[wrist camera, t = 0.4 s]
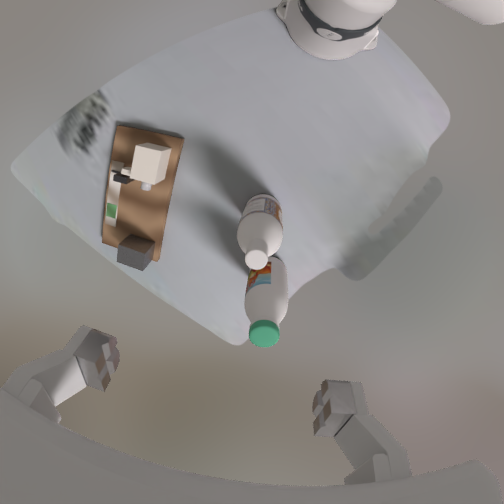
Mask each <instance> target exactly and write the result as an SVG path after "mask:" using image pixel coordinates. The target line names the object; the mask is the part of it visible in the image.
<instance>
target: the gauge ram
mask: <svg viewBox="0 0 504 504" xmlns="http://www.w3.org/2000/svg"><path fill="white" fill-rule="evenodd" d="M171 149H172V148H168V147H164V146H160V145H156V144H152V143H144V144H139V145H136V147H135V152H134V157H133V162H132V168H130V167H125V168H122V171H121V174H124V175H128V176H130V178H131V179H135V180H138V181H142V182H141V189H142V190H146V191H149V190H151V186H152V184H153V185H155V184H157V183H159V182H160V181H162V180H164V179H165V175H166V170H167V166H168V162H169V157H170V153H171Z"/></svg>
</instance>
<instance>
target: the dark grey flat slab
mask: <svg viewBox="0 0 504 504" xmlns="http://www.w3.org/2000/svg"><path fill="white" fill-rule="evenodd" d="M112 172H113V173H117V174H114V176H113V181H115V182H119V183H123V184H128V183H130V182H132V181H134V180H135V179H131V178H130V176H128V175H124V174H121V172H116V171H112Z"/></svg>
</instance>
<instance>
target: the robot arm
mask: <svg viewBox="0 0 504 504" xmlns="http://www.w3.org/2000/svg"><path fill="white" fill-rule="evenodd" d="M435 1H437V2H438V3H441V4H443V5H445V6H447V7H449V8H451V9H453V10H455V11H457V12H459V13H461V14H463V15H465V16H467V17H469V18H471V19H473V20H475V21H476V22H478V23H481V24H485V25H493V24H500V23H504V0H435ZM396 2H397V0H282V2H281V3H280V4H279V6H278V7H277V9H276V14H277V16H278V17H279V18H280V19H281V20H282V21H283V22H284V23H285V24H286V26H287V29H288V31H289V34H290V36H291V37H292V39H293V40H294V42H295V43H296V44H297V45H298V46H299V47H300V48H301V49H303V50H304V51H306V52H307V53H309V54H311V55H313V56H315V57H318V58H322V59H327V60H340V59H345V58H348V57H350V56H352V55H354V54H356V53H357V52H359V51H364V50H372V49H374V48H375V47H376V46H377V35H378V33H379V31H378V24H379V22H380V20H381V19H382V16H383V15H384V14H385V13H386V12H388V11H389V10H390V9H391V8H392V7H393V6H394V5H395V4H396ZM284 6H286V8H284ZM116 345H117V339H116V337H114V336H112V335H109V334H106V333H103V332H101V331H98V330H96V329H93V328H90V327H87V326H85V325H83V326H81V327H80V328H79V329H78V330H77V332H76V333H75V334H74V336H73V337H72V338H71V340H70V341H69V342H68V344H67V345H66V346H65V348H64V349H63V350H60V349H59V350H57V351H55V352H53V353H50V354H48V355H45V356H43V357H41V358H38V359H36V360H33V361H31V362H29V363H26V364H24V365H22V366H19V367H17V368H16V369H15V370H14V372H13V373H12V374H11V376H10V377H9V379H8V380H7V382H6V383H5V384H4V386H3V387H2V388H1V387H0V504H503V501H502V496H501V491H500V486H499V482H498V479H497V477H496V475H495V474H494V473H493V472H492V471H491V470H490V469H489V468H488V467H487V466H485V465H484V464H483V463H481V462H480V461H479V460H470V461H467V462H464V463H461V464H458V465H454V466H452V467H448V468H444V469H440V470H436V471H432V472H428V473H424V474H420V475H415V476H412V473H411V468H410V463H409V459H408V454H407V450H406V449H405V448H404V447H403V446H402V445H401V444H400V443H399V442H398V441H397V440H396V439H395V438H394V437H393V436H392V435H391V434H390V433H389V432H388V430H386V428H385V427H384V426H383V425H382V424H381V423H380V422H379V421H378V420H377V419H376V418H375V417H374V416H373V415H369V411H368V406H367V402H366V398H365V393H364V389H363V385H362V383H361V382H351V381H349V382H348V381H337V380H325V381H323V382H322V384H321V390H319V391H317V393H316V395H315V397H314V400H313V406H312V409H313V414H314V415H315V417H316V419H315V420H314V422H313V428H314V436H322V437H334V439H335V440H336V442H337V444H338V445H339V446H340V448H341V450H342V451H343V453H344V454H345V456H346V457H347V458H348V460H349V461H350V463H351V464H352V466H353V467H354V468H355V470H354V471H353V472H352V473H351V474H349V475H348V476H347V477H345V478H344V482H345V485H334V486H290V485H289V486H288V485H271V484H260V483H251V482H242V481H235V480H228V479H222V478H216V477H211V476H206V475H200V474H196V473H191V472H187V471H183V470H179V469H175V468H171V467H167V466H164V465H160V464H157V463H153V462H150V461H147V460H144V459H141V458H138V457H135V456H132V455H129V454H126V453H124V452H121V451H118V450H115V449H113V448H110V447H108V446H105V445H103V444H101V443H98V442H96V441H94V440H91V439H89V438H87V437H85V436H83V435H80V434H78V433H76V432H74V431H72V430H70V429H68V428H66V427H64V426H62V425H60V424H59V422H60V420H61V416H60V414H59V412H58V411H57V409H56V407H55V406H57V405H58V404H60V403H61V402H63V401H64V400H66V399H68V398H69V397H71V396H72V395H74V394H75V393H77V392H79V391H80V390H81V389H83V388H85V387H86V386H87V385H88V386H90V387H93V388H95V389H98V390H101V391H104V392H105V390H106V388H107V386H108V384H109V382H110V380H111V379H110V374H112V373H114V372H115V371H116V369H117V367H118V364H119V360H120V359H119V357H120V354H119V350H118V349H117V348H116V347H115V346H116Z"/></svg>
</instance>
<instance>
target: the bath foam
mask: <svg viewBox="0 0 504 504" xmlns="http://www.w3.org/2000/svg"><path fill="white" fill-rule="evenodd" d="M282 239H283V223H282V209H281V206H280V204H279V202H278V201H277V200H276V199H275V198H274V197H272V196H270V195H266V194H260V195H256V196H254V197H252V198H251V199H250V200H249V201H248V202H247V204H246V206H245V209H244V211H243V214H242V217H241V220H240V223H239V226H238V230H237V240H238V244H239V246H240V248H241V249H242V251H243V252H244V253H245V262H246V264H247V266H248V267H250V268H251V269H255V270H258V269H262V268H263V267H265V266H266V264H267V262H268V257H269V256H271V255H273V254H274V253H275V252H276V251H277V250H278V248H279V247H280V245H281V242H282Z"/></svg>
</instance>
